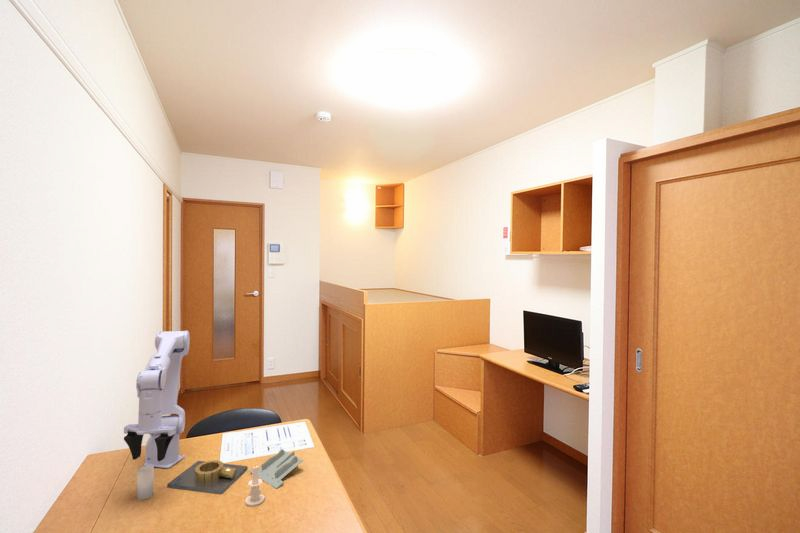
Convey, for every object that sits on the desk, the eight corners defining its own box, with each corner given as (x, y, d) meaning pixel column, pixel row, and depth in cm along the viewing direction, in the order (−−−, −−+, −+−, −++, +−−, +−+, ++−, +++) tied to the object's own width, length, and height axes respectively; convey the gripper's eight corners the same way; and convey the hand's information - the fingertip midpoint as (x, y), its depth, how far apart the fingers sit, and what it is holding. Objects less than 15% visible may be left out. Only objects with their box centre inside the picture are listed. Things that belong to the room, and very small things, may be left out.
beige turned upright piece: (241, 501, 110) (242, 465, 110) (257, 493, 114) (258, 458, 114) (251, 508, 107) (252, 471, 107) (268, 500, 111) (269, 464, 111)
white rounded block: (133, 499, 110) (133, 471, 110) (144, 491, 114) (145, 464, 114) (145, 501, 109) (146, 473, 109) (156, 492, 113) (157, 465, 113)
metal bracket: (280, 442, 135) (307, 455, 126) (283, 456, 137) (311, 470, 128) (243, 469, 124) (271, 486, 115) (248, 484, 126) (275, 502, 117)
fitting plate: (167, 487, 116) (167, 474, 116) (198, 463, 130) (198, 452, 130) (221, 494, 113) (222, 481, 113) (247, 469, 127) (247, 457, 127)
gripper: (115, 415, 108) (114, 464, 108) (164, 417, 107) (162, 467, 106) (135, 406, 115) (133, 452, 115) (180, 409, 114) (179, 455, 114)
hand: (148, 458), depth 111 cm, fingers open, 7 cm apart
